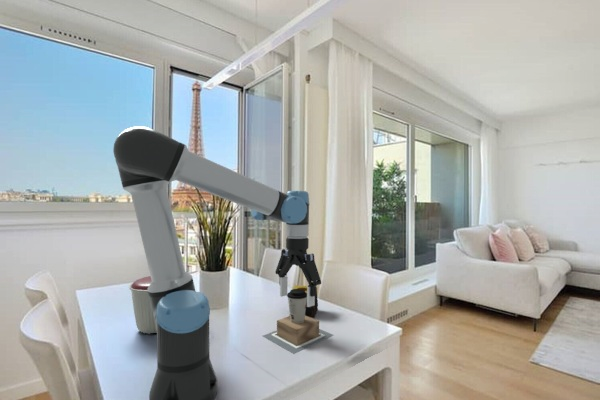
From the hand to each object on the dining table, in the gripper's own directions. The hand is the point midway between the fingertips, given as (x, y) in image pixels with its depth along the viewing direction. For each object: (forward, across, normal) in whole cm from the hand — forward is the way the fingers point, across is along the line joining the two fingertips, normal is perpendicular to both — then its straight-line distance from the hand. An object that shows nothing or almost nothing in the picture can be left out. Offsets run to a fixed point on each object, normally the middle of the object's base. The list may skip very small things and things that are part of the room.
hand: (296, 300), depth 103 cm
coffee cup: (+7, 0, 0) cm, 7 cm away
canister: (+13, +40, +31) cm, 52 cm away
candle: (+12, +14, -17) cm, 25 cm away
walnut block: (+12, 0, -1) cm, 12 cm away
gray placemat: (+12, 0, -1) cm, 12 cm away
